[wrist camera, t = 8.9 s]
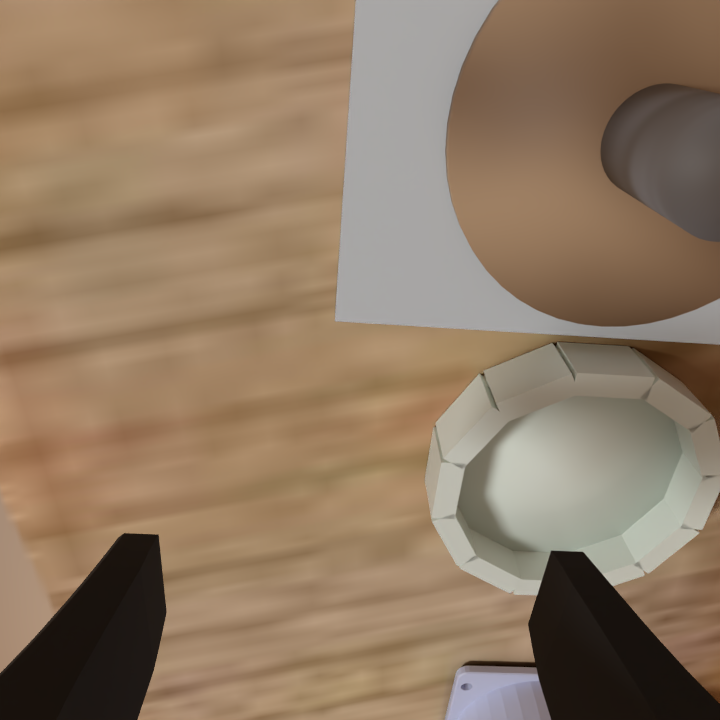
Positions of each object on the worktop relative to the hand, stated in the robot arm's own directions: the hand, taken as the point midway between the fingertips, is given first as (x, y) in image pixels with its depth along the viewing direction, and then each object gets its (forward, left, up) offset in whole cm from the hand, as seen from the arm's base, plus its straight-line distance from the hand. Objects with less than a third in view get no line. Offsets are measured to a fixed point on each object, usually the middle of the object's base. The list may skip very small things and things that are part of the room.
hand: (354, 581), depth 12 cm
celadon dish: (-4, -8, -10) cm, 14 cm away
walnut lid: (+7, -8, -9) cm, 14 cm away
